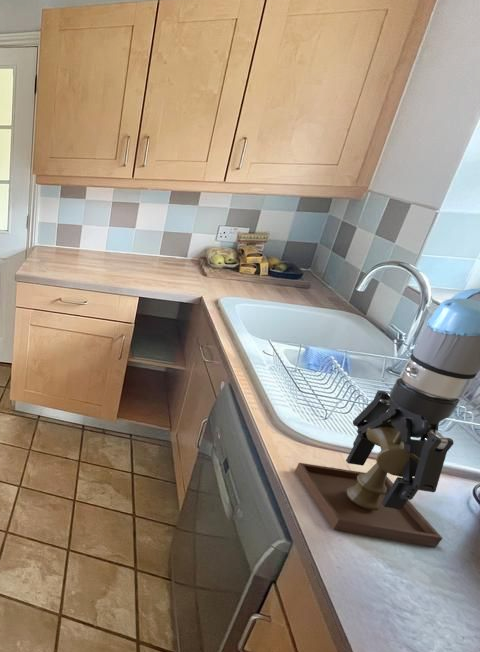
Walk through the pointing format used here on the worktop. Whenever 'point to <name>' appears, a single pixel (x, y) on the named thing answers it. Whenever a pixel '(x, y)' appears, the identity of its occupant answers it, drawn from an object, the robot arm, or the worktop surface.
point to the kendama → (380, 467)
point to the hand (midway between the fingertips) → (371, 483)
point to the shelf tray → (350, 517)
